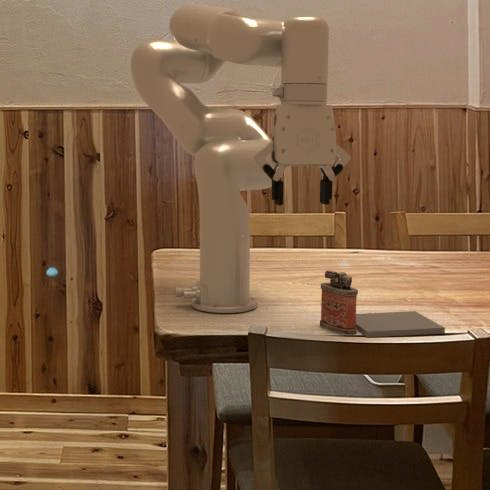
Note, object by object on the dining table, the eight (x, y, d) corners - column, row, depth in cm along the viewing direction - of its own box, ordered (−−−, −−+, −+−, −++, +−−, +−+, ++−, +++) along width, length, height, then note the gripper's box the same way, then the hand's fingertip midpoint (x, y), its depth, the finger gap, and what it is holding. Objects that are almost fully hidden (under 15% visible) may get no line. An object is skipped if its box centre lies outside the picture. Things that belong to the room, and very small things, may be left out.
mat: (366, 337, 133) (367, 331, 133) (342, 319, 144) (342, 314, 144) (444, 333, 136) (444, 327, 136) (414, 316, 147) (415, 311, 147)
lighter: (361, 333, 136) (363, 275, 134) (346, 336, 134) (348, 277, 132) (329, 322, 142) (331, 267, 141) (315, 325, 140) (316, 269, 139)
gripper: (257, 94, 125) (256, 207, 128) (362, 96, 129) (359, 206, 131) (246, 95, 132) (245, 202, 135) (346, 97, 136) (343, 201, 139)
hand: (301, 203), depth 133 cm, fingers open, 7 cm apart
